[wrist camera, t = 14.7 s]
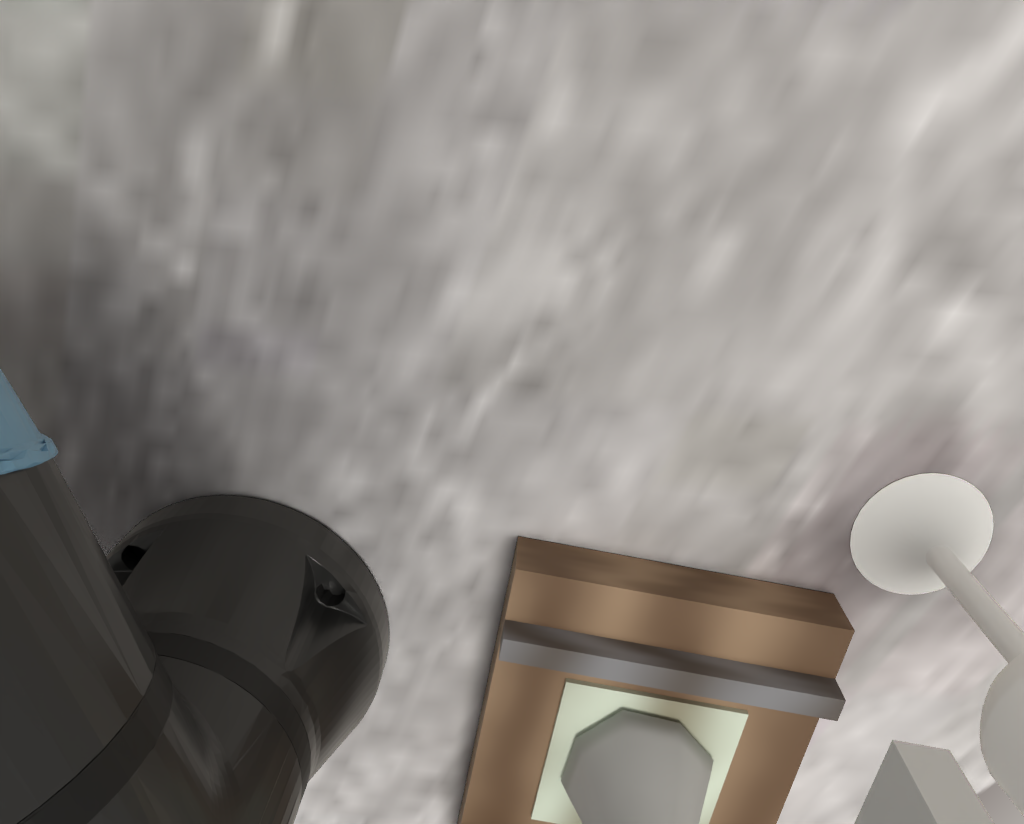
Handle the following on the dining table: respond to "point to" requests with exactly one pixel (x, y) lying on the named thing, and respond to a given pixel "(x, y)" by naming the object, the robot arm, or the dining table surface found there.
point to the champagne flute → (948, 563)
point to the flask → (637, 772)
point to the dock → (651, 678)
